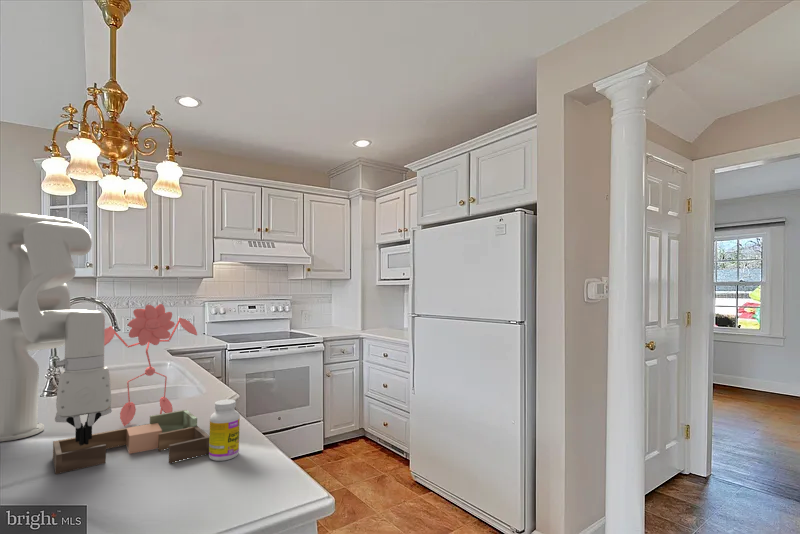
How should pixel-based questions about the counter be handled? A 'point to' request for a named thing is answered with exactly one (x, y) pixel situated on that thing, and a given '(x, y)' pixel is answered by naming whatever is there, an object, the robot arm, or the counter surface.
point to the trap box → (175, 435)
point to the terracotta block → (142, 438)
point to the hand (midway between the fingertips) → (83, 443)
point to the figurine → (148, 330)
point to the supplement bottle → (224, 431)
